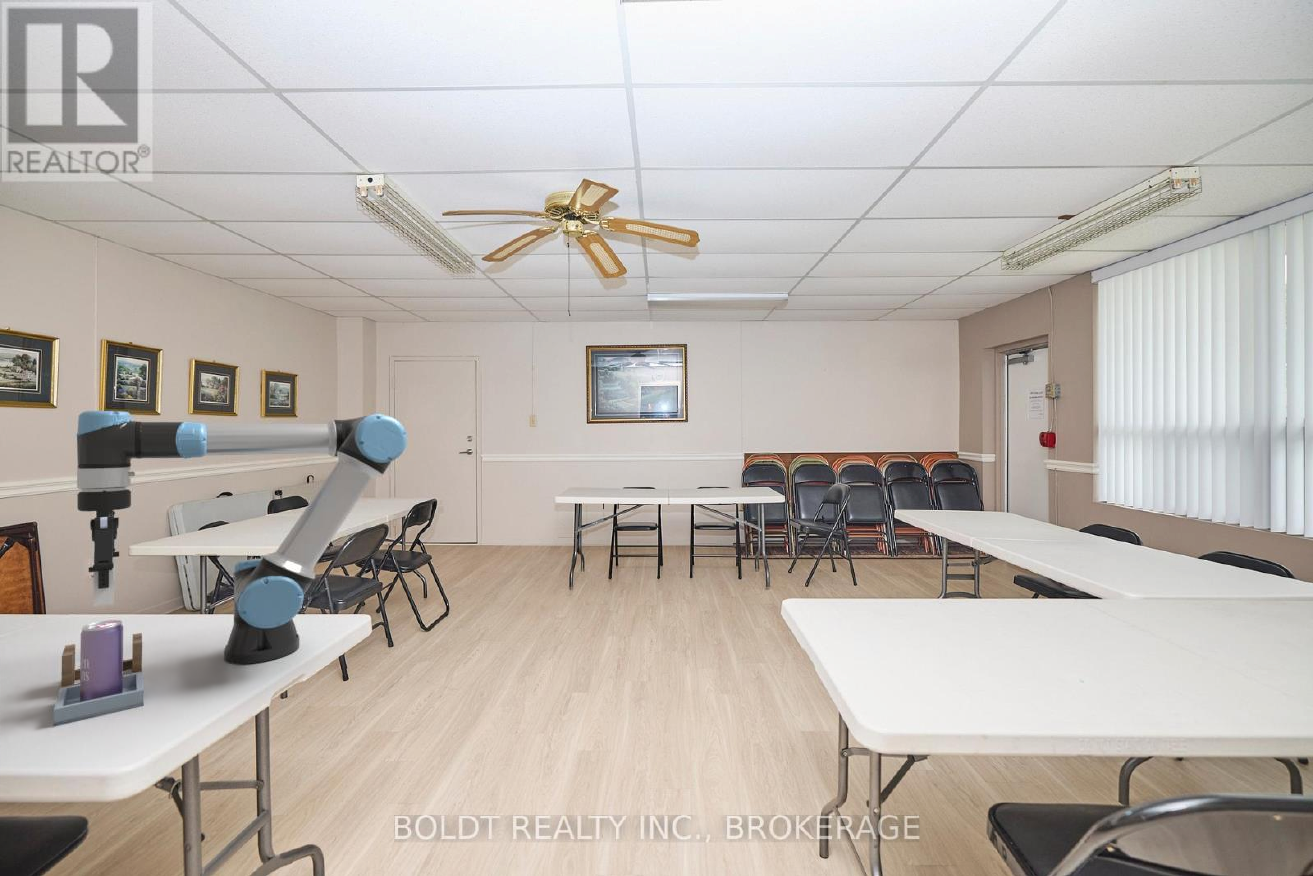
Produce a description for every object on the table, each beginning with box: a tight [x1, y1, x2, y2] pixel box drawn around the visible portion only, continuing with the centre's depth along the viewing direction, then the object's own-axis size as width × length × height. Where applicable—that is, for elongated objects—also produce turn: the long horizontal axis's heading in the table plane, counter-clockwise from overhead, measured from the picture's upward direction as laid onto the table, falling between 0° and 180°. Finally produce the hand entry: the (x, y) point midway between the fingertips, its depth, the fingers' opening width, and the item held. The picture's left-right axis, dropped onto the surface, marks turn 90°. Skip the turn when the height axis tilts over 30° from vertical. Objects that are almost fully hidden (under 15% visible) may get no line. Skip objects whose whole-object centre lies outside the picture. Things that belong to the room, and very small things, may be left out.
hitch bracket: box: [60, 632, 143, 688], centre depth 121 cm, size 11×12×8 cm
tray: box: [53, 670, 145, 727], centre depth 110 cm, size 12×12×3 cm
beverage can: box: [79, 619, 124, 702], centre depth 110 cm, size 6×6×15 cm
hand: (104, 597), depth 110 cm, fingers open, 13 cm apart
